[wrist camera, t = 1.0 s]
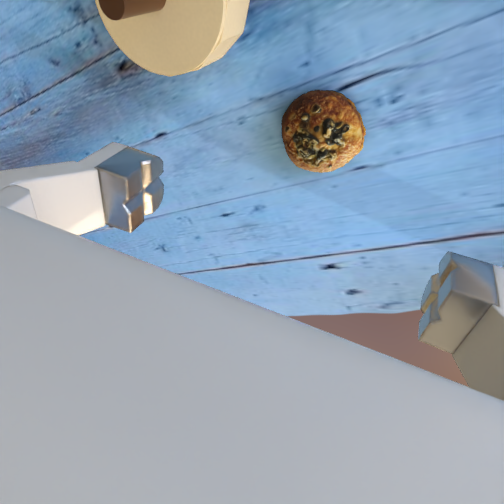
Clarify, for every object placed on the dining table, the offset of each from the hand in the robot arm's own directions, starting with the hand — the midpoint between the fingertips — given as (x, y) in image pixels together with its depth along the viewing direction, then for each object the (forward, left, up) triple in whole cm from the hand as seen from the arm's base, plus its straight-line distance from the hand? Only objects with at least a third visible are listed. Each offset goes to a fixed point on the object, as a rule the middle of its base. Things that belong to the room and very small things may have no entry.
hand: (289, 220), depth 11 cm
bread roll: (+15, -4, -42) cm, 45 cm away
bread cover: (+5, -26, -42) cm, 50 cm away
